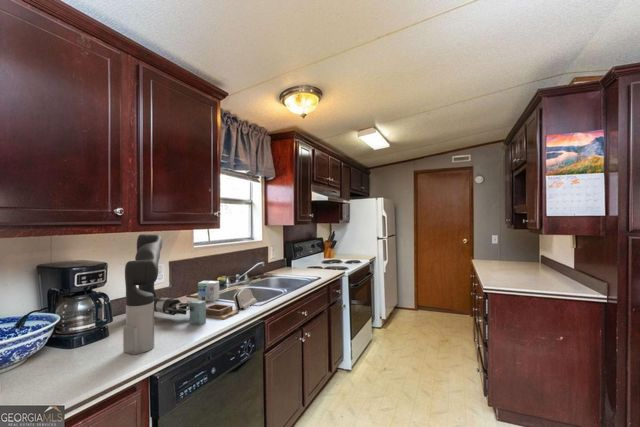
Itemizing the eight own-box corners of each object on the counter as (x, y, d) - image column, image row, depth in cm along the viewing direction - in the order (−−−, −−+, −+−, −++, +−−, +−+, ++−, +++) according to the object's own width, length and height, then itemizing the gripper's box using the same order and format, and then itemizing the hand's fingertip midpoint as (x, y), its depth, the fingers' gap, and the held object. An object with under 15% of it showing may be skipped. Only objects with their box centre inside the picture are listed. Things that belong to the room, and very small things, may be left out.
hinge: (244, 310, 164) (238, 292, 164) (237, 312, 164) (231, 294, 165) (257, 301, 180) (251, 285, 181) (250, 303, 181) (244, 287, 182)
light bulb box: (197, 301, 183) (197, 282, 183) (203, 298, 190) (203, 280, 190) (214, 301, 182) (214, 283, 182) (219, 298, 188) (219, 280, 188)
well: (223, 319, 149) (223, 312, 149) (195, 315, 156) (195, 308, 156) (238, 312, 159) (238, 306, 159) (211, 309, 166) (211, 302, 166)
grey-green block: (199, 325, 141) (199, 303, 141) (189, 323, 143) (189, 302, 144) (205, 322, 145) (205, 301, 145) (196, 320, 147) (196, 299, 147)
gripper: (155, 302, 145) (180, 305, 139) (180, 294, 158) (204, 297, 152) (155, 318, 145) (180, 322, 139) (180, 309, 158) (204, 313, 152)
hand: (193, 309), depth 145 cm, fingers open, 8 cm apart
